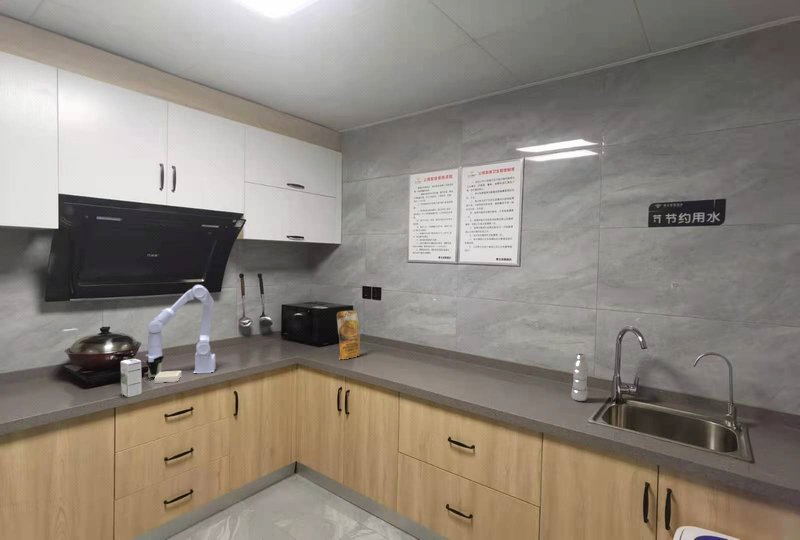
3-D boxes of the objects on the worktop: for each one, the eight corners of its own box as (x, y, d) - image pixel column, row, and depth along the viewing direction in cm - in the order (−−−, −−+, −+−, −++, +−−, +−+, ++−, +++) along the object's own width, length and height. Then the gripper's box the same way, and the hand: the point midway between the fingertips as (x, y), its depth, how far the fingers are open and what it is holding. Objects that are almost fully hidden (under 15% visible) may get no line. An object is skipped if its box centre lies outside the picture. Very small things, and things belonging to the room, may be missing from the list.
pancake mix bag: (332, 359, 236) (333, 311, 235) (356, 353, 250) (357, 308, 249) (339, 361, 231) (340, 312, 231) (363, 355, 246) (364, 310, 245)
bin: (181, 376, 197) (181, 370, 197) (177, 382, 188) (177, 376, 188) (160, 378, 194) (160, 371, 194) (154, 383, 185) (154, 377, 185)
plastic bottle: (568, 400, 175) (570, 354, 175) (574, 396, 180) (576, 351, 179) (583, 404, 171) (585, 357, 170) (589, 400, 175) (591, 354, 175)
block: (161, 374, 199) (161, 362, 199) (159, 377, 195) (159, 365, 195) (151, 375, 198) (151, 363, 198) (148, 378, 194) (148, 365, 193)
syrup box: (142, 393, 172) (142, 360, 172) (127, 397, 167) (127, 362, 166) (135, 391, 175) (135, 358, 174) (120, 395, 170) (120, 360, 169)
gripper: (150, 342, 202) (150, 369, 202) (141, 349, 188) (141, 377, 188) (166, 341, 204) (166, 368, 204) (158, 348, 190) (158, 376, 190)
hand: (155, 373), depth 196 cm, fingers closed on block, 4 cm apart
